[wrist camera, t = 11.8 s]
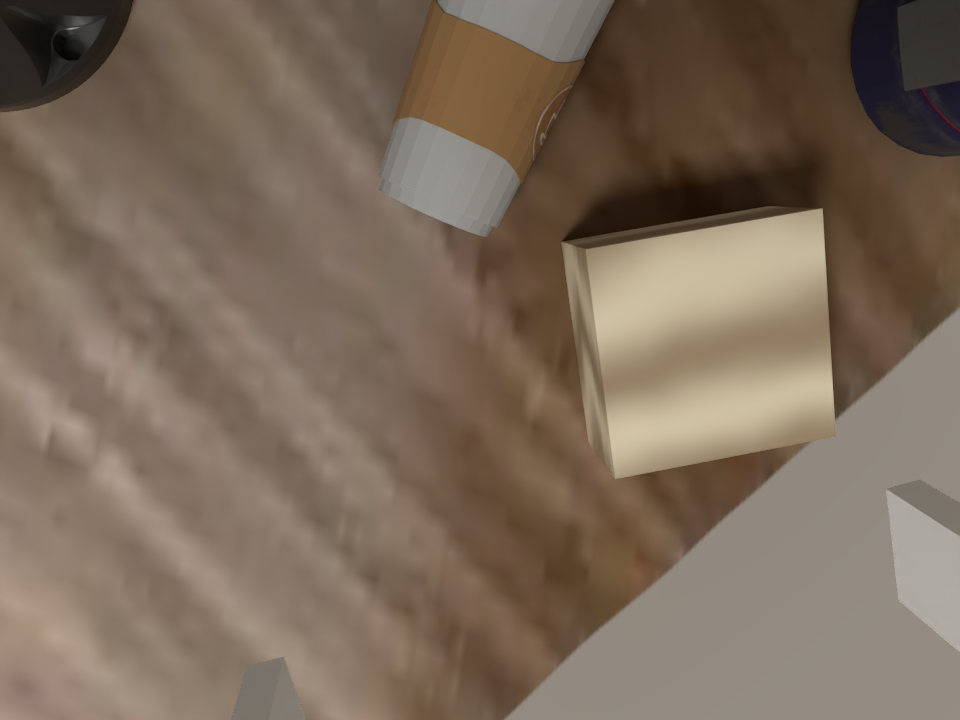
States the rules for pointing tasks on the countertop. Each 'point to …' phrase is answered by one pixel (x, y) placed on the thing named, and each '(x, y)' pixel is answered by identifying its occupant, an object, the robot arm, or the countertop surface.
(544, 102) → the coffee cup
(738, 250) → the maple block
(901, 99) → the grenade
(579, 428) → the countertop surface
